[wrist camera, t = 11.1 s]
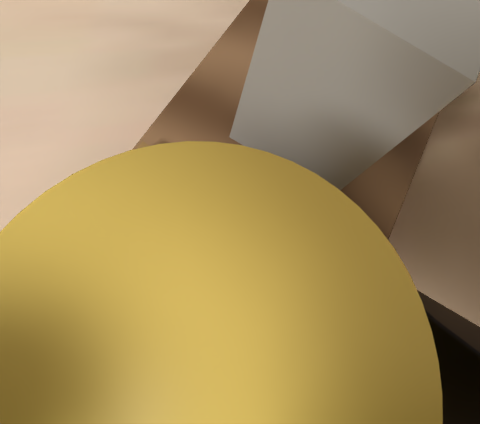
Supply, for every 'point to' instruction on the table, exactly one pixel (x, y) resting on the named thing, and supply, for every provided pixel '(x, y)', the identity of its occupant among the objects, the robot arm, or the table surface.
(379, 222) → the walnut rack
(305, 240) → the mustard peg
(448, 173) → the table surface
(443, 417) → the robot arm
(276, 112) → the slate grey standing blocks
